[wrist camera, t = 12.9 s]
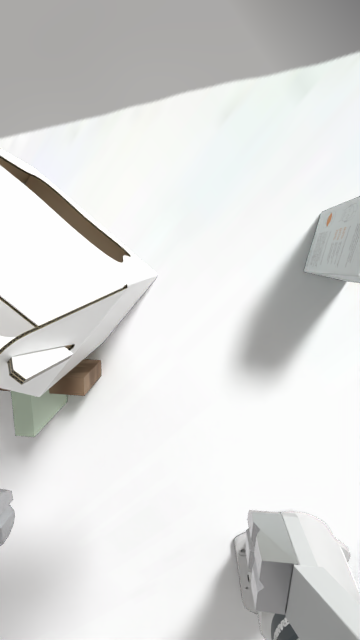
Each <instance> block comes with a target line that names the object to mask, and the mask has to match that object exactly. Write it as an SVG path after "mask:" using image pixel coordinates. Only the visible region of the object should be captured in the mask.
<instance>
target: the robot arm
mask: <svg viewBox="0 0 360 640" xmlns="http://www.w3.org/2000/svg"><path fill="white" fill-rule="evenodd" d="M12 500H13V496H12V491H9V490H3V489H0V546H1V545H2V544H4V542H5V541H6V539H7V537H8V536H9V534H10V532H11V529H12V527H13V524H14V518H15V513H14V509H13V508H12V507H11V506H10V505H9V504H10V503H11V501H12ZM247 520H248V525H249V529H248V530H246V532H245V533H243V534H241V535H239V536H237V537H236V538H235V540H234V544H235V551H236V558H237V564H238V571H239V578H240V585H241V592H242V599H243V603H244V607H245V608H246V609H248V610H249V611H251V612H253V613H255V614H258V618H259V624H260V629H261V634H262V636H263V637H264V639H265V640H360V591H359V589H358V587H357V584H356V582H355V579H354V577H353V575H352V572H351V570H350V568H349V565H348V561H349V559H350V552H349V550H348V548H347V546H346V545H345V544H343V543H342V542H340V541H339V540H337V539H336V538H335V537H334V535H333V533H332V532H331V530H330V529H329V527H328V526H327V525H326V524H325V523H324V522H323V521H321V520H320V519H318V518H317V517H315V516H313V515H310V514H307V513H303V512H296V511H287V512H280V513H279V512H269V511H255V510H249V512H248V519H247Z"/></svg>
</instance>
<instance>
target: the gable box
mask: <svg viewBox="0 0 360 640" xmlns="http://www.w3.org/2000/svg"><path fill="white" fill-rule="evenodd" d="M157 276H158V274H157V273H156V272H155V271H154V270H153V269H151V268H150V267H149V266H148V265H147V264H146V263H144V262H143V261H142V260H141V259H140V258H139V257H137V256H136V255H135V254H134V253H133V252H132V251H131V250H129V249H128V248H127V247H126V246H125V245H124V244H122V243H121V242H120V241H119V240H118V239H117V238H115V237H114V236H113V235H112V234H111V233H110V232H108V231H107V230H106V229H105V228H104V227H103V226H101V225H100V224H99V223H98V222H97V221H96V220H94V219H93V218H92V217H91V216H90V215H89V214H88V213H86V212H85V211H84V210H83V209H82V208H81V207H79V206H78V205H77V204H76V203H75V202H74V201H72V200H71V199H70V198H69V197H68V196H67V195H65V194H64V193H63V192H62V191H61V190H60V189H58V188H57V187H56V186H55V185H54V184H53V183H52V182H50V181H49V180H48V179H47V178H46V177H45V176H43V175H42V174H41V173H40V172H39V171H38V170H36V169H35V168H34V167H32V166H30V165H29V164H27V163H25V162H23V161H22V160H20V159H18V158H16V157H15V156H13V155H11V154H9V153H8V152H6V151H4V150H2V149H1V148H0V296H2V297H3V298H4V299H5V300H7V301H8V302H9V303H10V304H12V305H13V306H14V307H15V308H17V309H18V310H19V311H20V312H22V313H23V314H24V315H25V316H27V317H28V318H29V319H30V320H32V321H33V322H34V323H35V324H37V325H38V326H37V325H35V324H34V323H33V322H31V321H30V320H29V319H28V318H26V317H25V316H24V315H23V314H21V313H20V312H19V311H18V310H16V309H15V308H14V307H13V306H11V305H10V304H9V303H8V302H6V301H5V300H4V299H3V298H1V297H0V388H2V389H7V390H11V391H15V392H19V393H24V394H28V395H32V396H35V397H40V396H41V395H42V394H44V393H45V392H46V391H47V390H48V389H49V388H51V387H52V386H53V385H54V384H55V383H56V382H58V381H59V380H60V379H61V378H62V377H63V376H65V375H66V374H67V373H68V372H69V371H70V370H72V369H73V368H74V367H75V366H76V365H77V364H79V363H80V362H81V361H82V360H83V359H84V358H86V357H87V356H88V355H89V354H90V353H91V352H93V351H94V350H95V349H96V348H97V347H98V346H99V345H101V344H102V343H103V342H104V341H105V340H106V339H107V337H108V336H109V335H110V334H111V332H112V331H113V330H114V329H115V328H116V326H117V325H118V324H119V323H120V322H121V320H122V319H123V318H124V317H125V315H126V314H127V313H128V312H129V311H130V309H131V308H132V307H133V306H134V305H135V303H136V302H137V301H138V300H139V298H140V297H141V296H142V295H143V294H144V292H145V291H146V290H147V289H148V288H149V286H150V285H151V284H152V283H153V281H154V280H155V279H156V278H157Z"/></svg>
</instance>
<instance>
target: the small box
mask: <svg viewBox="0 0 360 640" xmlns="http://www.w3.org/2000/svg"><path fill="white" fill-rule="evenodd" d="M304 272H307V273H312V274H316V275H321V276H325V277H330V278H334V279H339V280H343V281H348V282H356V283H360V196H359V197H356V198H354V199H352V200H349V201H347V202H344V203H342V204H339V205H337V206H334V207H332V208H329V209H327V210H325V211H322V212H321V215H320V219H319V222H318V225H317V228H316V232H315V235H314V238H313V242H312V245H311V248H310V251H309V255H308V258H307V261H306V265H305V268H304Z"/></svg>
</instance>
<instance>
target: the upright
mask: <svg viewBox="0 0 360 640" xmlns="http://www.w3.org/2000/svg"><path fill="white" fill-rule="evenodd" d="M100 377H101V360H88V359H83V360H82V361H81V362H80V363H79V364H77V365H76V366H75V367H74V368H73V369H72V370H70V371H69V372H68V373H67V374H66V375H65V376H63V377H62V378H61V379H60V380H59V381H58V382H56V383H55V384H54V385H53V386H52V387H51V388H49V393H50V394H65V395H81V396H85V394H86V393H87V392H88V391H89V390H90V388H91V387H92V386H93V385H94V384H95V382H96V381H97V380H98V379H99V378H100ZM0 390H3V391H11V390H7V389H2V388H0Z"/></svg>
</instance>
